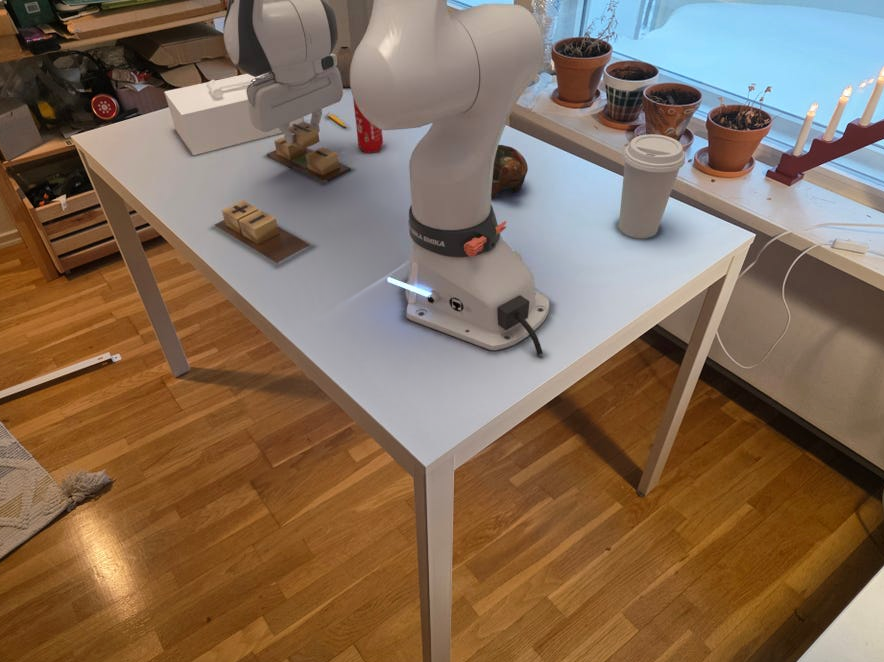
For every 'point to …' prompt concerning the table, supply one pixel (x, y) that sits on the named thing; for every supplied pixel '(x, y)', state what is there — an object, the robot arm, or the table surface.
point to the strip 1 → (271, 245)
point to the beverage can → (367, 133)
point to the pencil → (336, 119)
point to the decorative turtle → (508, 170)
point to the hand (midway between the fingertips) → (303, 137)
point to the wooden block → (304, 135)
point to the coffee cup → (648, 182)
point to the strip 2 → (309, 160)
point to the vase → (344, 64)
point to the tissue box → (215, 114)
